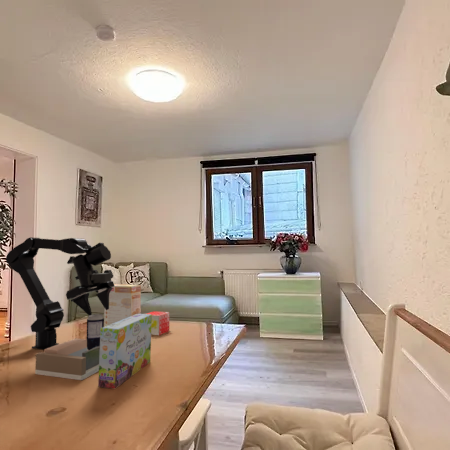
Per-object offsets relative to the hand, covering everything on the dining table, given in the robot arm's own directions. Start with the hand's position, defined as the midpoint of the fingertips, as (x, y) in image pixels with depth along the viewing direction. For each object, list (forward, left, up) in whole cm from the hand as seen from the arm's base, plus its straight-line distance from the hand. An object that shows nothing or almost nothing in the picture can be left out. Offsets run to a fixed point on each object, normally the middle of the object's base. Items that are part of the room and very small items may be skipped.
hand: (99, 312), depth 118 cm
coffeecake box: (-11, +29, -13) cm, 34 cm away
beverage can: (-2, 0, -13) cm, 14 cm away
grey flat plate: (+11, -15, -12) cm, 22 cm away
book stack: (0, -15, -12) cm, 19 cm away
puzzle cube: (+6, +29, -14) cm, 33 cm away
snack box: (+22, -16, -14) cm, 30 cm away
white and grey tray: (+5, -15, -13) cm, 20 cm away
